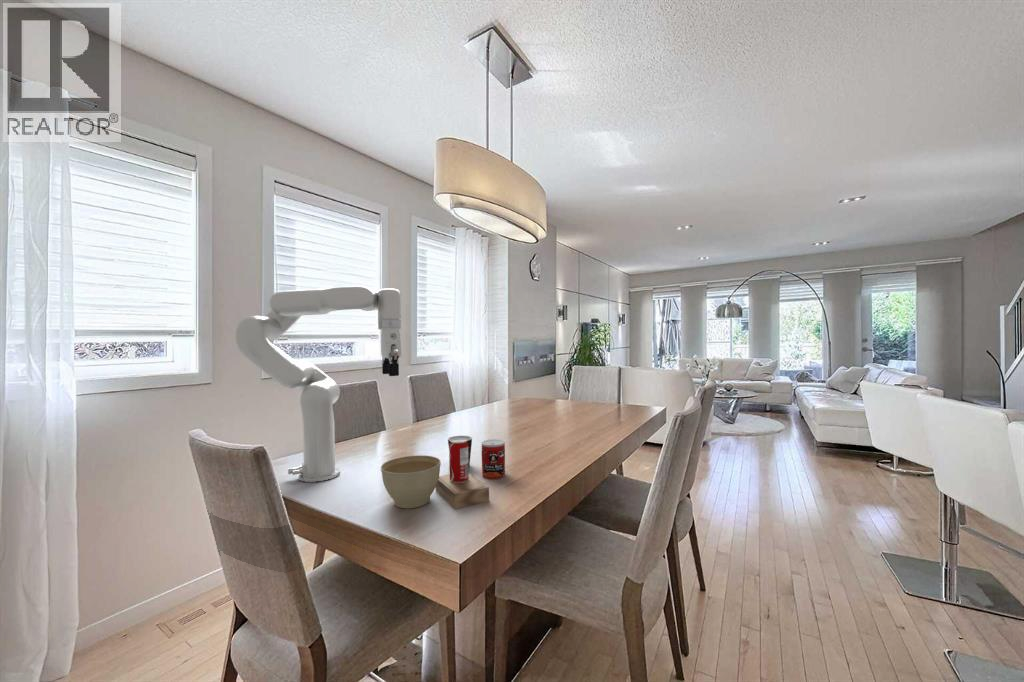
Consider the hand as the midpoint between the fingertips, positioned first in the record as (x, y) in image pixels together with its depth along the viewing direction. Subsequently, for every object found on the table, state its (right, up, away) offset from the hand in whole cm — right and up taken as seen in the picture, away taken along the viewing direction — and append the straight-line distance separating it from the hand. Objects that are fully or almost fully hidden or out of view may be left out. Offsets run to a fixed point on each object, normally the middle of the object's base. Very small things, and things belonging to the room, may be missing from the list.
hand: (390, 374), depth 142 cm
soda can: (+26, -29, -22) cm, 45 cm away
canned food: (+36, -33, -5) cm, 49 cm away
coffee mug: (+23, -33, +6) cm, 41 cm away
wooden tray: (+27, -33, -23) cm, 48 cm away
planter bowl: (+14, -34, -27) cm, 45 cm away
